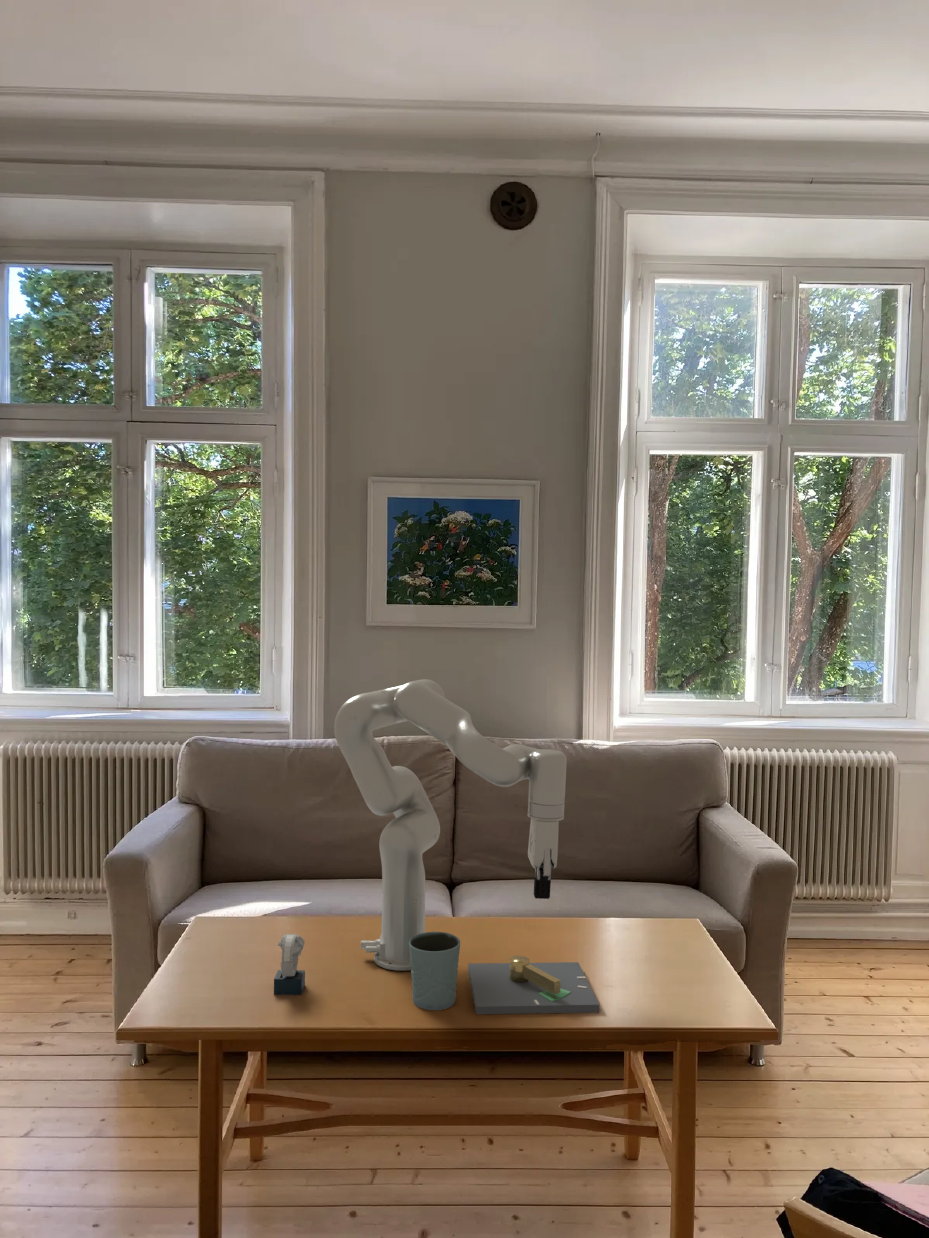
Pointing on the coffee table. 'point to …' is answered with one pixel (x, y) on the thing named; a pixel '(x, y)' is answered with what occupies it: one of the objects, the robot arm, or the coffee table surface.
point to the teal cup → (434, 969)
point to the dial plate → (530, 990)
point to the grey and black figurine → (290, 967)
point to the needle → (532, 974)
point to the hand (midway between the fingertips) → (541, 897)
